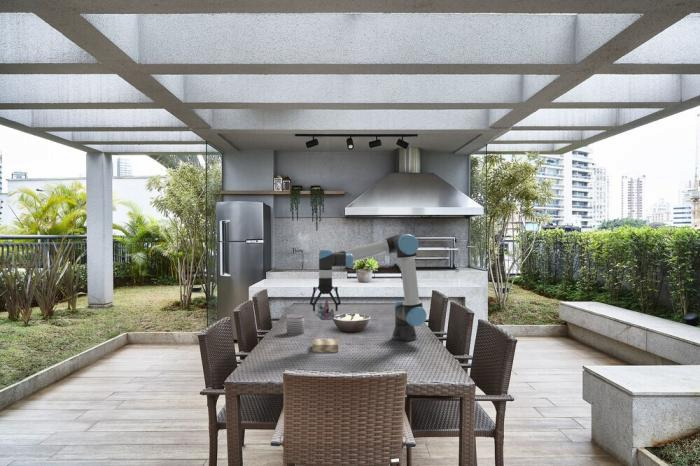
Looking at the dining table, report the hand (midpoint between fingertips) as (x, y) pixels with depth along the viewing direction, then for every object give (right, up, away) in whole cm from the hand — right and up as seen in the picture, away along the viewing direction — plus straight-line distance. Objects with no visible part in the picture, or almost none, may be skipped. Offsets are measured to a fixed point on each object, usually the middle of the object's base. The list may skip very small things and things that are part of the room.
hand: (325, 317), depth 268 cm
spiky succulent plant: (0, -1, +1) cm, 2 cm away
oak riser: (0, -18, 0) cm, 18 cm away
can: (-21, -18, +42) cm, 50 cm away
